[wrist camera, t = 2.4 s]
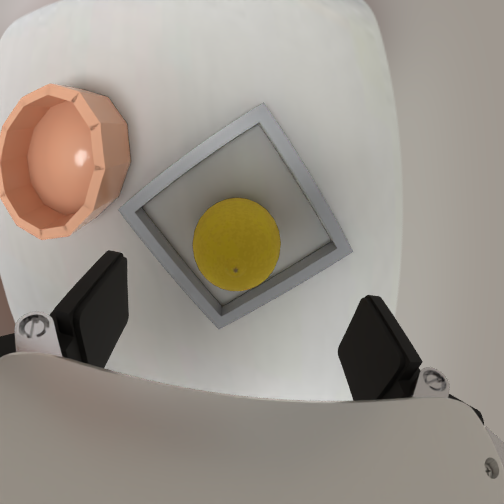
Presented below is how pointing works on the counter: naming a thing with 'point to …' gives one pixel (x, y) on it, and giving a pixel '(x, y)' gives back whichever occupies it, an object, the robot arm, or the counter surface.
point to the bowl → (61, 159)
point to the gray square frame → (275, 284)
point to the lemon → (236, 244)
